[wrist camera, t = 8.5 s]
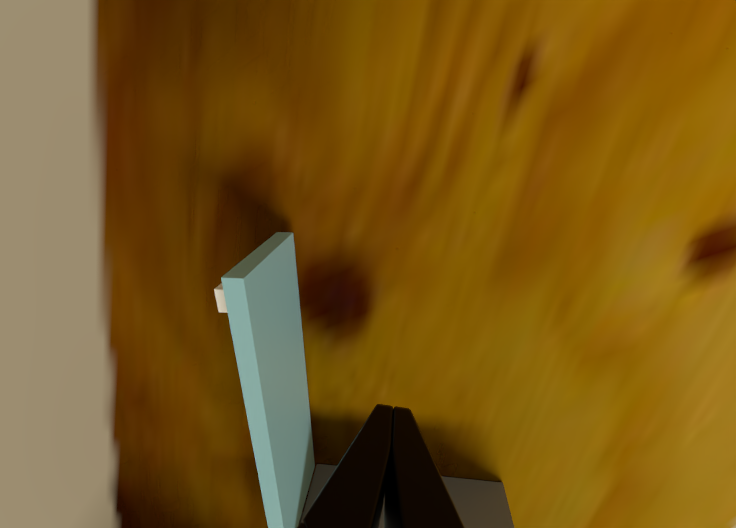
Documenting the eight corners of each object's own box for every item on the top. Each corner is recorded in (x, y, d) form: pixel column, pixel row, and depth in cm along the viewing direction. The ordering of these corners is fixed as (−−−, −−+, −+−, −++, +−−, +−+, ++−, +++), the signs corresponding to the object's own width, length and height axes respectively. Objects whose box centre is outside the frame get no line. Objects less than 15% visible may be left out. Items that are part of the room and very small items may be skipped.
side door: (314, 466, 22) (288, 559, 18) (288, 463, 22) (255, 555, 18) (293, 232, 16) (243, 278, 11) (256, 231, 16) (193, 276, 12)
